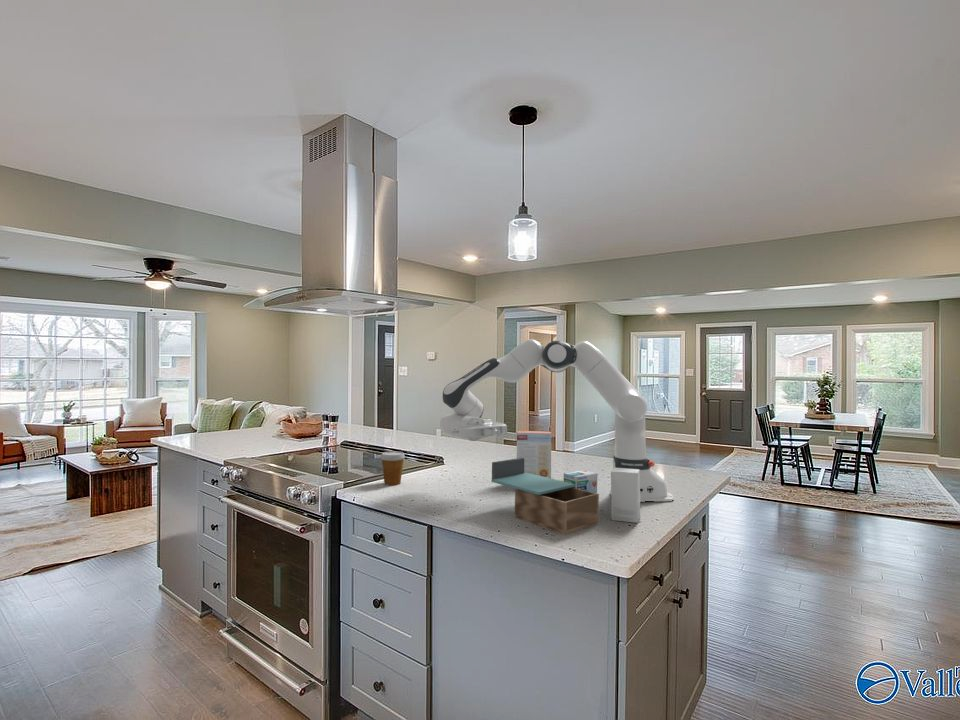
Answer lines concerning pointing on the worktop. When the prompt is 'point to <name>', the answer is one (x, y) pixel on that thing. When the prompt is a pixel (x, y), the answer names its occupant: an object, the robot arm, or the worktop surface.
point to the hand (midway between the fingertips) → (497, 433)
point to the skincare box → (625, 494)
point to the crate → (558, 509)
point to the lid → (524, 478)
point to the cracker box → (535, 452)
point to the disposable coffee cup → (392, 467)
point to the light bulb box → (582, 480)
